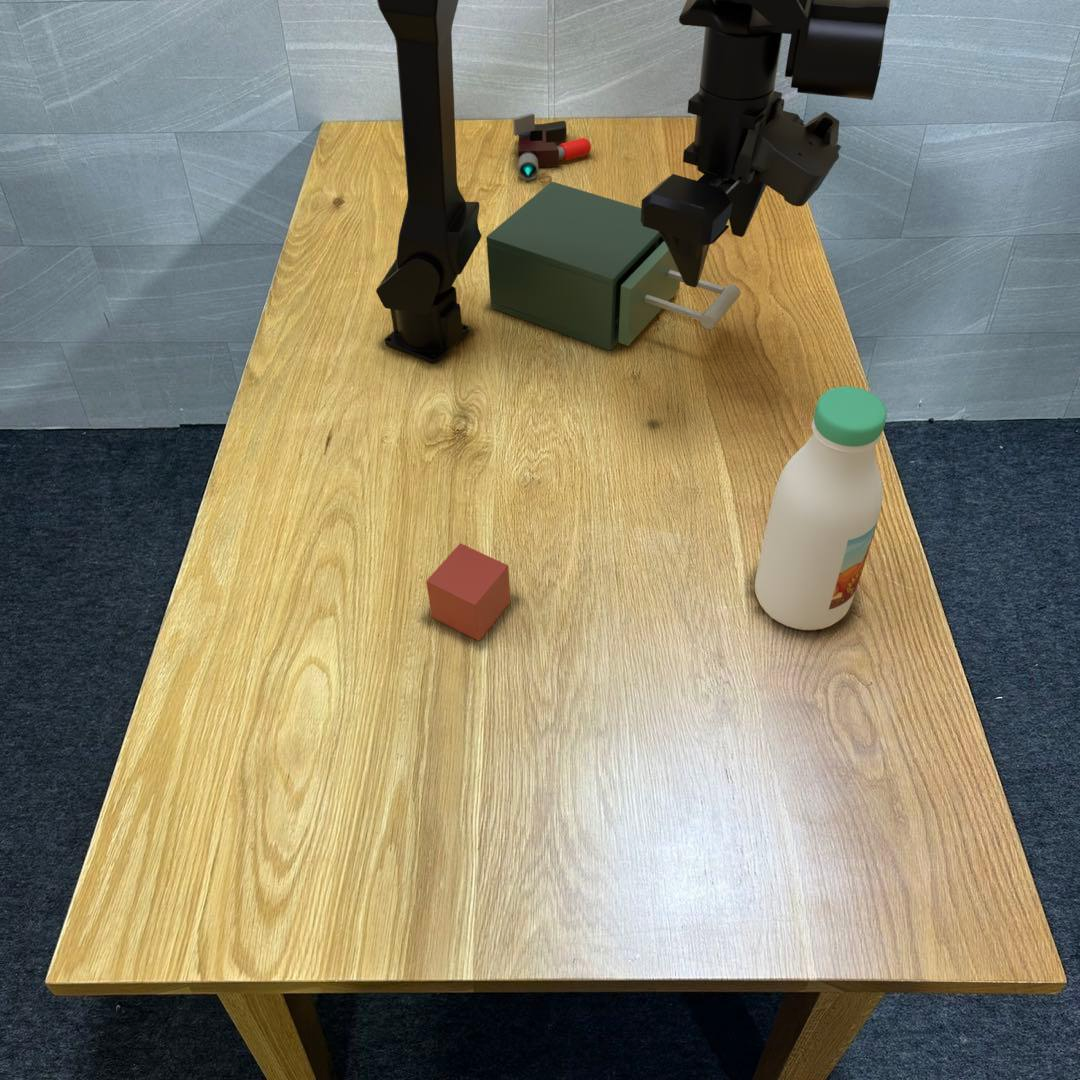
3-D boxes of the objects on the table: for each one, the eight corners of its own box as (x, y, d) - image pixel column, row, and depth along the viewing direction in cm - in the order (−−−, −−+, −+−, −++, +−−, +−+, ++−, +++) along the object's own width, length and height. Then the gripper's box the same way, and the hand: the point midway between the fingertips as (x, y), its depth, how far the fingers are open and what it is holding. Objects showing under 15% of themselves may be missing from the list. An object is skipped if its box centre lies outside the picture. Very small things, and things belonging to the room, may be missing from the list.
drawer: (746, 311, 107) (756, 254, 102) (698, 371, 101) (705, 313, 96) (570, 253, 115) (570, 197, 110) (515, 306, 109) (512, 249, 104)
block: (431, 617, 82) (425, 580, 79) (464, 579, 85) (460, 542, 82) (479, 641, 81) (475, 605, 77) (511, 602, 83) (508, 565, 80)
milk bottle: (791, 648, 80) (843, 460, 65) (734, 580, 84) (770, 390, 70) (870, 610, 82) (938, 421, 67) (810, 546, 87) (861, 356, 72)
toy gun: (514, 185, 127) (513, 147, 123) (514, 138, 135) (513, 101, 131) (593, 183, 127) (594, 145, 123) (588, 136, 135) (589, 99, 131)
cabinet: (667, 289, 112) (673, 217, 105) (610, 351, 105) (613, 278, 98) (552, 251, 117) (551, 180, 111) (490, 308, 110) (485, 236, 104)
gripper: (783, 162, 71) (753, 345, 83) (881, 61, 82) (842, 236, 93) (642, 123, 76) (632, 302, 87) (752, 31, 86) (730, 202, 98)
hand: (715, 259), depth 91 cm, fingers open, 9 cm apart
